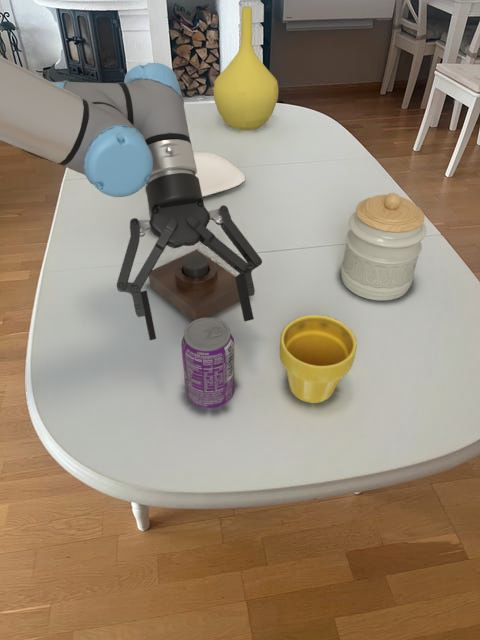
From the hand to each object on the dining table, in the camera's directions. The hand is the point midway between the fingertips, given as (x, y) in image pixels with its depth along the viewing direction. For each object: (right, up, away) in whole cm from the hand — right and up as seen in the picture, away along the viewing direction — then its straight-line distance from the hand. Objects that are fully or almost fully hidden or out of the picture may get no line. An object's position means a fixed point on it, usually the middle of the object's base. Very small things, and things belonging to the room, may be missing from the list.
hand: (202, 330), depth 72 cm
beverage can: (+1, -9, +5) cm, 11 cm away
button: (-2, +10, +19) cm, 22 cm away
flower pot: (+16, -9, +6) cm, 19 cm away
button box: (-2, +7, +22) cm, 23 cm away
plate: (-6, +35, +55) cm, 65 cm away
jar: (+30, +9, +25) cm, 40 cm away
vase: (+7, +59, +81) cm, 100 cm away
